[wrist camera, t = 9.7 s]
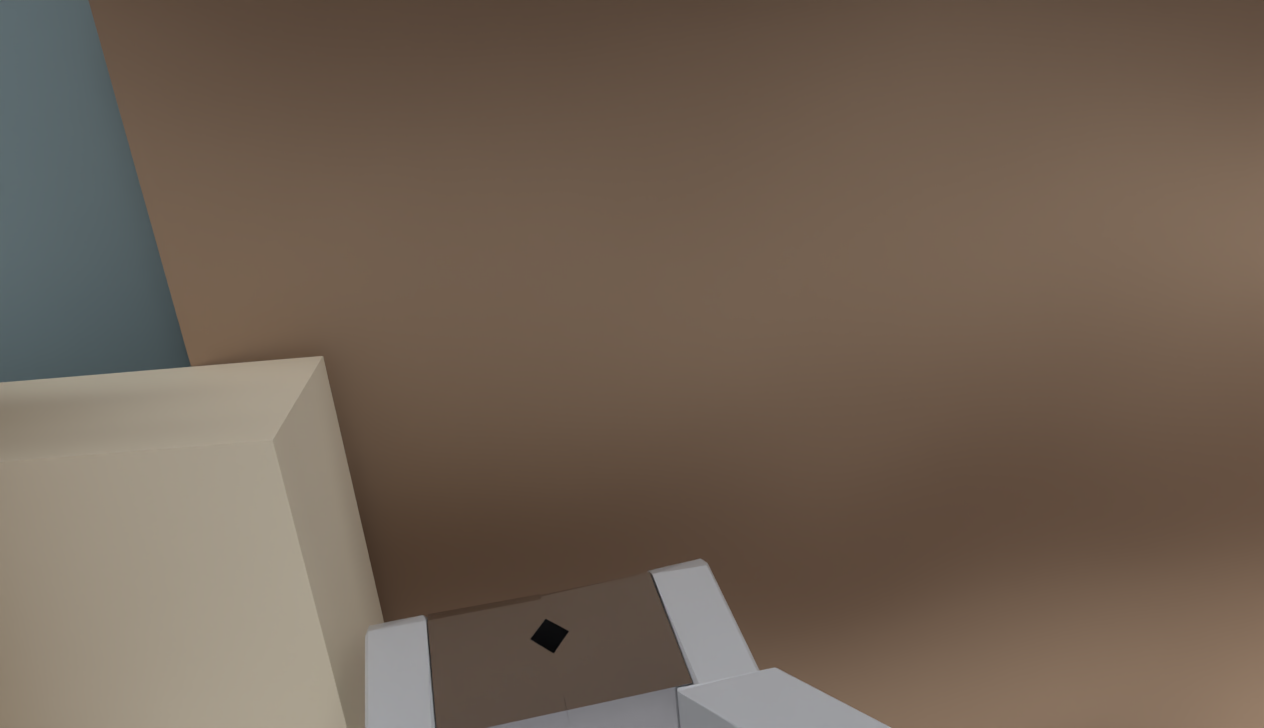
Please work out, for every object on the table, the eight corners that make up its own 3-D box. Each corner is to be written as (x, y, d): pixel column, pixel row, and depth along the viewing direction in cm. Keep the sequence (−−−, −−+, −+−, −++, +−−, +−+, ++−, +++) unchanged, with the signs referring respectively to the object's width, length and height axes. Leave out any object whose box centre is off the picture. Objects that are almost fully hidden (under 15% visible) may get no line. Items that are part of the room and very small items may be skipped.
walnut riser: (102, -155, 10) (45, -156, 8) (1643, -302, 12) (1857, -328, 11) (389, 947, 16) (392, 1085, 14) (1395, 701, 18) (1506, 793, 17)
